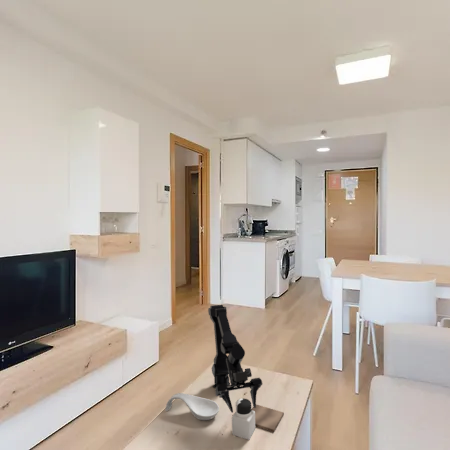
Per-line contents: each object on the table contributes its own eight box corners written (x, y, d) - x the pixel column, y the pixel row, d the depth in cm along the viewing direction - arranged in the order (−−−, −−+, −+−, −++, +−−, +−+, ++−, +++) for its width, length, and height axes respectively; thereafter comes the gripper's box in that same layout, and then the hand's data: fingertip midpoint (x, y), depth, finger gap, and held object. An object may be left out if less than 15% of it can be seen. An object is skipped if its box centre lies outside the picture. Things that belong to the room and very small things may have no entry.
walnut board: (243, 422, 129) (243, 419, 129) (255, 406, 140) (255, 404, 140) (274, 432, 123) (274, 429, 123) (283, 414, 133) (283, 412, 133)
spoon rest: (222, 410, 138) (222, 393, 138) (213, 427, 127) (213, 410, 126) (173, 401, 145) (172, 386, 145) (160, 417, 134) (160, 400, 133)
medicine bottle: (255, 428, 125) (255, 398, 125) (249, 440, 119) (248, 408, 118) (238, 423, 128) (238, 394, 128) (231, 435, 122) (231, 404, 121)
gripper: (216, 364, 125) (224, 408, 115) (260, 358, 130) (271, 399, 120) (212, 374, 133) (219, 416, 123) (253, 368, 138) (264, 408, 128)
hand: (243, 410), depth 123 cm, fingers open, 9 cm apart
